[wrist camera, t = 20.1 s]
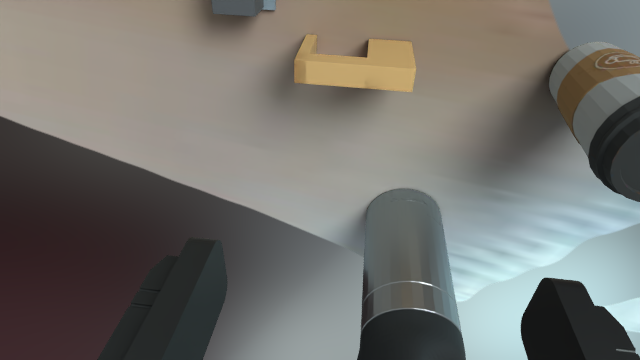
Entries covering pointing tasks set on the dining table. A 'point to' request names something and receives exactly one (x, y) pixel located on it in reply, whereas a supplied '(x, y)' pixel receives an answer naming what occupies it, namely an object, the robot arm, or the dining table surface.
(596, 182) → the dining table surface
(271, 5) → the light blue panel
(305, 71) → the yellow bent bar
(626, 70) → the coffee cup
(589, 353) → the robot arm
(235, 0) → the dark gray rectangular block
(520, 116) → the dining table surface
